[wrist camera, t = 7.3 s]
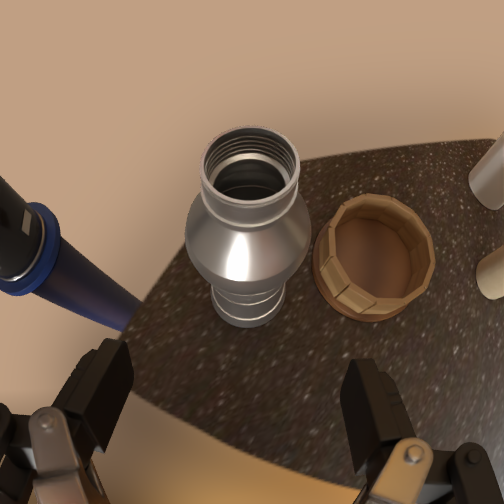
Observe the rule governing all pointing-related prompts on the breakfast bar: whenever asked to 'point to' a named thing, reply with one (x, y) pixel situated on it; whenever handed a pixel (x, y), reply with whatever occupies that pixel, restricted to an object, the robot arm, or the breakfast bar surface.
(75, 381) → the robot arm
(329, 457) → the breakfast bar surface
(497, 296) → the candle
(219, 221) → the silver metal bottle
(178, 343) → the breakfast bar surface
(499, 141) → the cylindrical container
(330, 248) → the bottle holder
